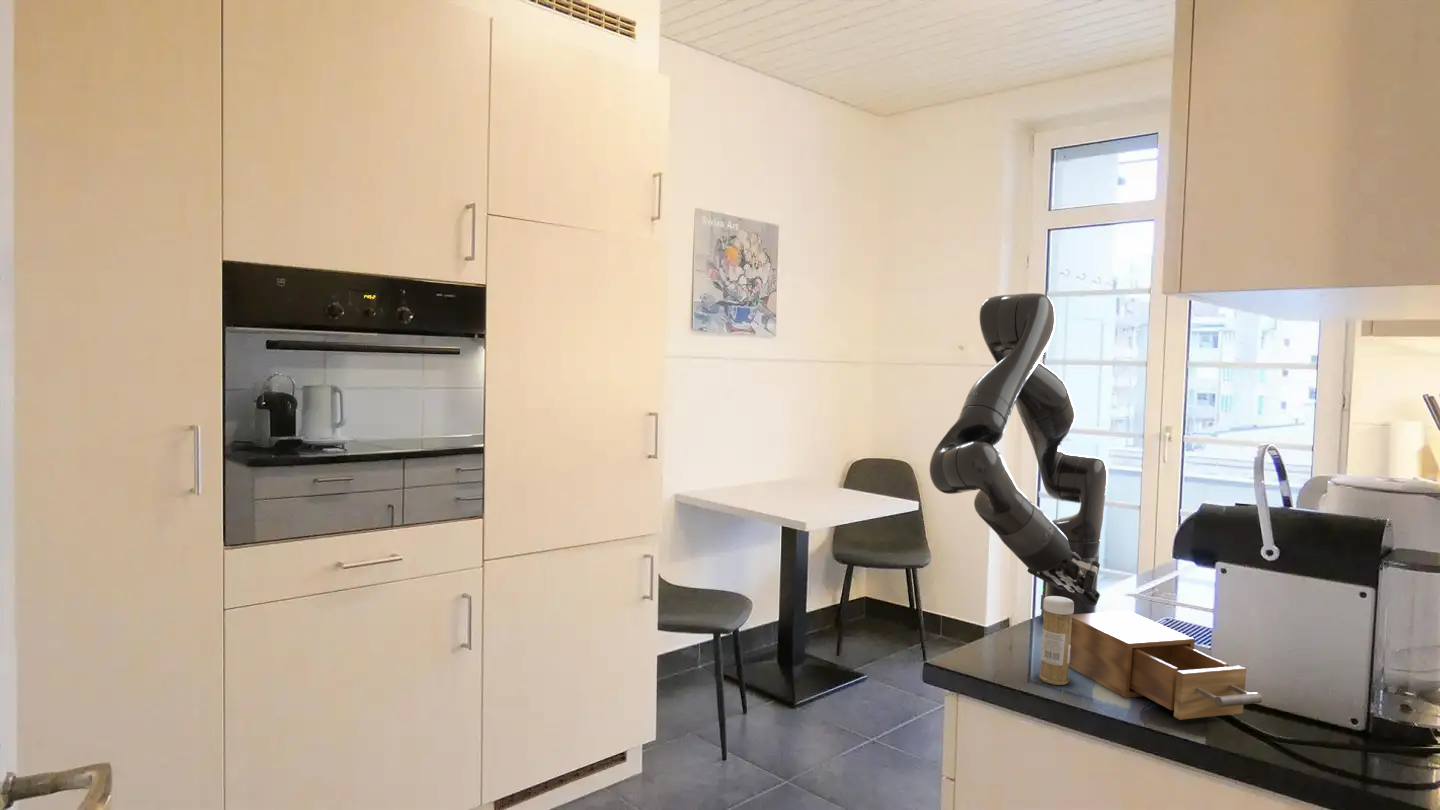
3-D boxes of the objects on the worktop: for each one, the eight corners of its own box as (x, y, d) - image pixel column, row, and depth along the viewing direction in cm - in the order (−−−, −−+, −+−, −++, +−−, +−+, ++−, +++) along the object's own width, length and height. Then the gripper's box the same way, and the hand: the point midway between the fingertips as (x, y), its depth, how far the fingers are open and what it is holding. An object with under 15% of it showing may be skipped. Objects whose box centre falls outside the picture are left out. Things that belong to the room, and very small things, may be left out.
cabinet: (1191, 691, 140) (1195, 638, 139) (1124, 697, 137) (1128, 643, 136) (1125, 659, 154) (1128, 610, 153) (1063, 663, 151) (1067, 614, 150)
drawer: (1272, 727, 125) (1276, 681, 125) (1207, 734, 122) (1210, 687, 122) (1172, 678, 143) (1175, 637, 142) (1113, 684, 140) (1116, 642, 139)
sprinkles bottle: (1074, 682, 142) (1080, 600, 141) (1057, 688, 139) (1062, 604, 139) (1050, 673, 146) (1055, 593, 145) (1032, 678, 143) (1037, 597, 142)
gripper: (1076, 515, 130) (1139, 583, 136) (1006, 514, 142) (1068, 578, 147) (1056, 557, 128) (1122, 625, 133) (987, 553, 139) (1050, 616, 144)
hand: (1093, 600), depth 140 cm, fingers closed
